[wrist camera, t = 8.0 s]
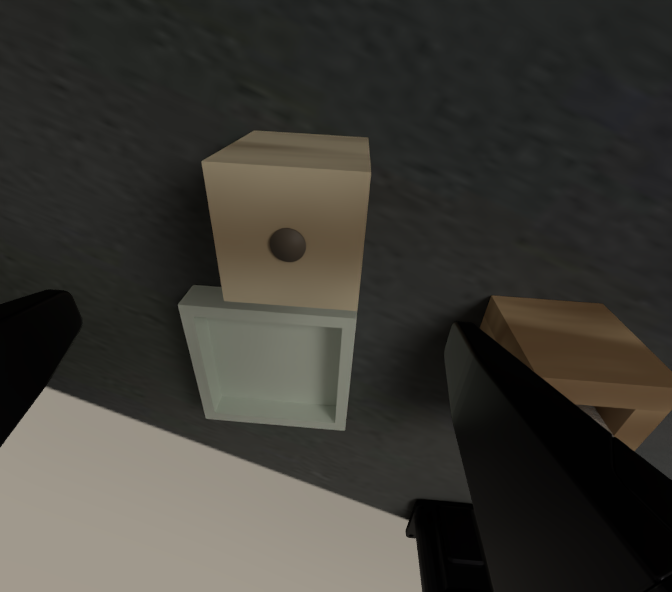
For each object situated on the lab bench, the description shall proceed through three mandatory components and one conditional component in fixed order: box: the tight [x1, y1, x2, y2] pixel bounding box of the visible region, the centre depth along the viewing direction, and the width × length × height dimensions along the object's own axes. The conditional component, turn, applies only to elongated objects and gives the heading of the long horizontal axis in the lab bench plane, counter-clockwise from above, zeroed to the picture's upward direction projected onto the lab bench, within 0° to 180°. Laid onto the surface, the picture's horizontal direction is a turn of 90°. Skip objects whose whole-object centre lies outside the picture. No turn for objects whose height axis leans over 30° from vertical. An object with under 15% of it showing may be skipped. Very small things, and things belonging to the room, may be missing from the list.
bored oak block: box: [480, 295, 672, 451], centre depth 18 cm, size 6×6×6 cm
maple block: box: [201, 131, 371, 311], centre depth 14 cm, size 5×5×6 cm
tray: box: [178, 285, 357, 431], centre depth 21 cm, size 9×9×2 cm
